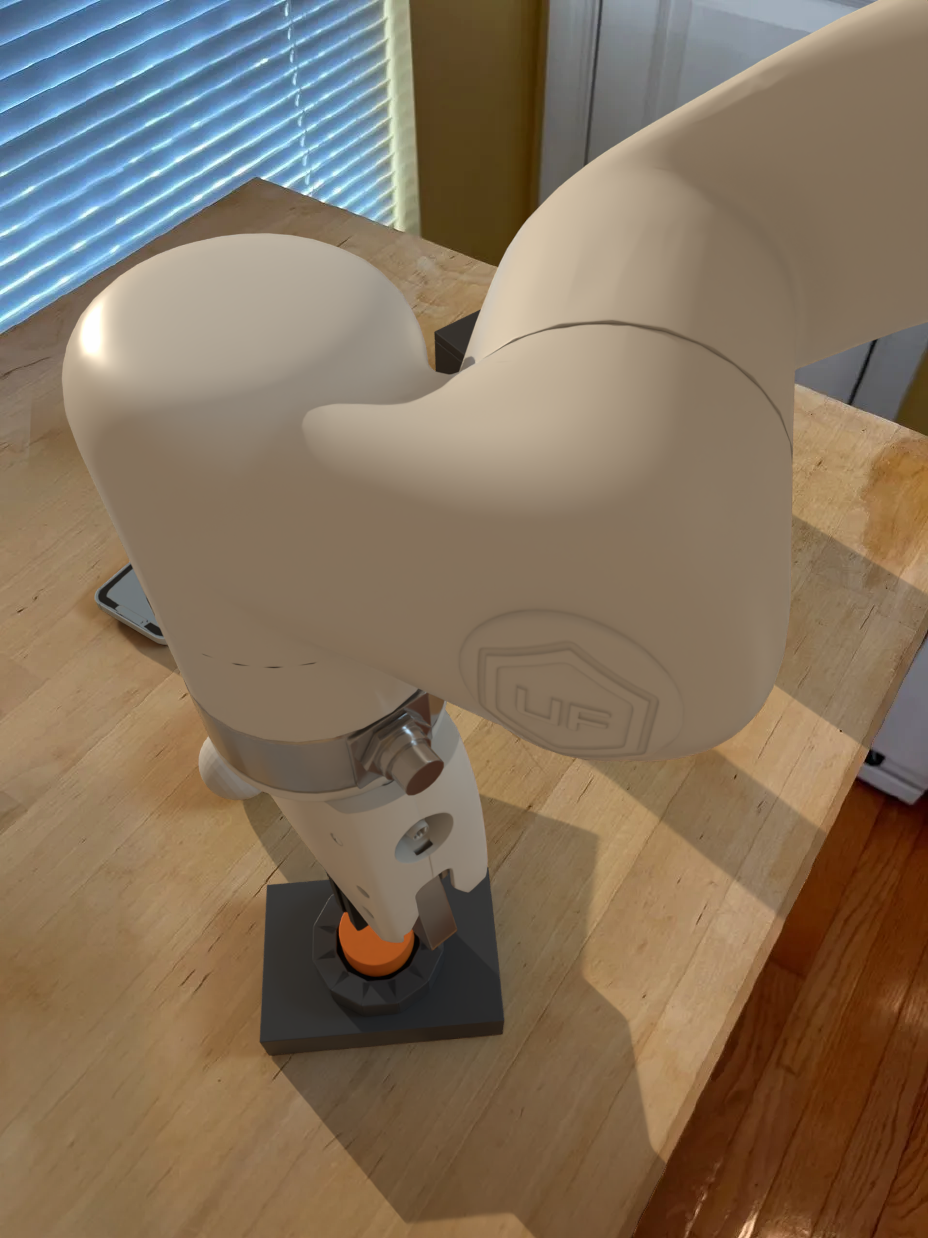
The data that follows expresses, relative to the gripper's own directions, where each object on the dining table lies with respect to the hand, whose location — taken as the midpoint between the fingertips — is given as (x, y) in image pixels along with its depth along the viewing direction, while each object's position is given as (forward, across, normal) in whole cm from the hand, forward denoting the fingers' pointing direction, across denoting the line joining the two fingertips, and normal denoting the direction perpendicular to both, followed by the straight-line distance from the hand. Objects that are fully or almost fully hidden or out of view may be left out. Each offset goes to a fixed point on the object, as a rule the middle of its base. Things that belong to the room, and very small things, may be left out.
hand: (376, 897), depth 42 cm
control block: (+10, 0, 0) cm, 10 cm away
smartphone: (+10, +32, -6) cm, 34 cm away
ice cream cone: (+10, +15, -5) cm, 19 cm away
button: (+6, 0, 0) cm, 6 cm away
